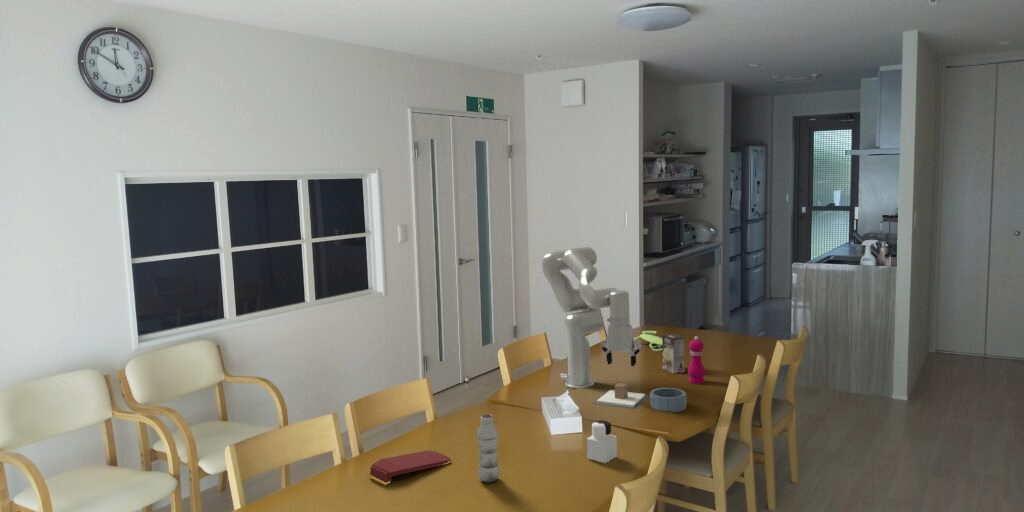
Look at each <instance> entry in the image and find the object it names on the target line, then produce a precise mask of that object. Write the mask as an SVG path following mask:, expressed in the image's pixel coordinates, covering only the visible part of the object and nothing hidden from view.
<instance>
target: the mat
mask: <svg viewBox="0 0 1024 512" xmlns="http://www.w3.org/2000/svg"><path fill="white" fill-rule="evenodd" d="M608 391H609V390H607V391H606V392H605V393H604V394H606V393H607V392H608ZM604 394H602V395H600V396H599V397H598V399H599V398H601V397H602V396H603V395H604ZM648 398H650V395H647V394H645V397H644V398H643V399H642V400H641V401H640V402H639V403H638V404H637V405H636V406H635V407H633V408H632V407H624V406H616V405H608V404H601V403H597V400H598V399H596V400H594V401H593V402H592V403H591V404H592V405H597V406H598V405H599V406H605V407H612V408H613V407H615V408H623V409H629V410H637V409H638V408H639V407H640V406H641V405H643V403H645V402H646V401H647V400H648Z"/></svg>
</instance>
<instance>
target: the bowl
mask: <svg viewBox="0 0 1024 512" xmlns="http://www.w3.org/2000/svg"><path fill="white" fill-rule="evenodd" d="M649 396H650V397H649V404H650V407H651V408H652V409H654V410H657V411H661V412H662V411H663V412H672V413H679V412H683V411H685V409H687V393H686V392H685V390H682V389H681V388H677V387H676V388H675V387H659V388H654V389H652V390H651V391H649Z"/></svg>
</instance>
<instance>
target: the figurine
mask: <svg viewBox="0 0 1024 512" xmlns="http://www.w3.org/2000/svg"><path fill="white" fill-rule="evenodd" d="M656 335H657V331H656V330H643V331H641V334H639V336H636V337H634V340H635V341H637V340H639V339H642V340H643V341H645V342H648V343H649V348H650V349H651V350H652V351H653V352H663V343H662V337H660V336H656ZM653 345H655V346H653ZM657 347H658V348H657ZM661 347H662V348H661ZM655 348H657V349H655Z"/></svg>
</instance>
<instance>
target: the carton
mask: <svg viewBox="0 0 1024 512" xmlns="http://www.w3.org/2000/svg"><path fill="white" fill-rule="evenodd" d="M451 460H452V459H451V457H450V456H449V455H446V454H443V453H441V452H437V451H435V450H434V451H432V450H421V451H417V452H412V453H407V454H402V455H401V454H400V455H395V456H391V457H385V458H379V460H377V461H375V462H374V463H372V464H371V466H370V470H369V472H370V473H369V476H370V475H372V476H374V477H376V478H378V479H380V480H382V481H384V482H388V481H391V482H392V477H394V476H395V477H396V476H400V475H403V474H404V475H405V474H408V473H412V472H417V471H418V472H419V471H423V470H427V469H431V468H436V466H437V467H440V466H439V465H441V464H444V463H447V462H448V461H451Z"/></svg>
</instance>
